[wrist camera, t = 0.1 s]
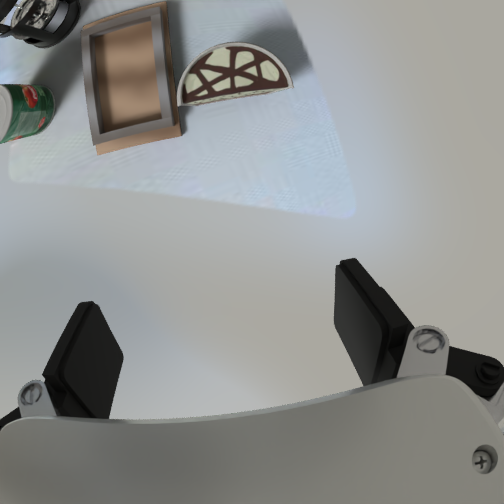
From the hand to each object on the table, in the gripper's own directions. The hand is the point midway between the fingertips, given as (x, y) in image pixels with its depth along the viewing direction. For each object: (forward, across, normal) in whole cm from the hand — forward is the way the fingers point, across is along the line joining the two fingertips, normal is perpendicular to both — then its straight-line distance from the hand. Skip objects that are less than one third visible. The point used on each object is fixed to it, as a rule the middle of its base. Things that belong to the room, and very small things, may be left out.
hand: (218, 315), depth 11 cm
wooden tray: (+31, +10, -15) cm, 36 cm away
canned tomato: (+31, +26, -16) cm, 43 cm away
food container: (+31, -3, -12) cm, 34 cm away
